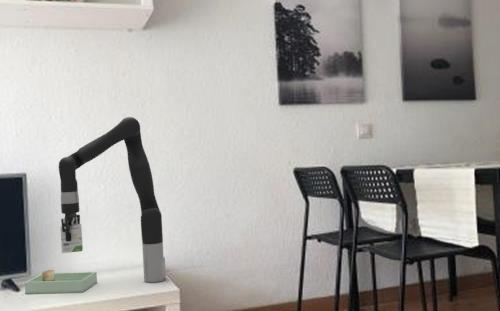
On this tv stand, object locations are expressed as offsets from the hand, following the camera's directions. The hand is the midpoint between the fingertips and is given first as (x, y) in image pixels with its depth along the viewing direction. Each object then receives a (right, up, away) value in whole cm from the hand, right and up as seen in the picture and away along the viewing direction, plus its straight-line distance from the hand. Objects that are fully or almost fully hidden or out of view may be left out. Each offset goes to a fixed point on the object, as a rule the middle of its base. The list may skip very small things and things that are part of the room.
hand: (72, 239), depth 225 cm
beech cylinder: (-11, -21, +1) cm, 24 cm away
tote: (-5, -22, +1) cm, 22 cm away
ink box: (0, -5, 0) cm, 5 cm away
